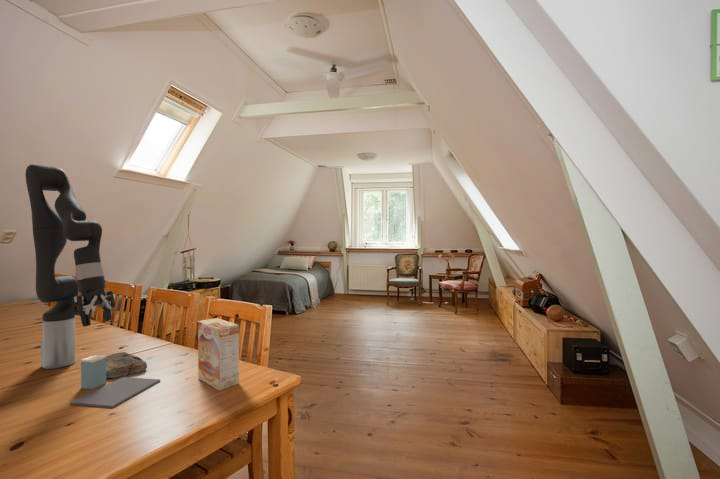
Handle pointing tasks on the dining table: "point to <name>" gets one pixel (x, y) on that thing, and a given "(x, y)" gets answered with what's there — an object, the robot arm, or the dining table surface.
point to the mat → (115, 392)
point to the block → (93, 371)
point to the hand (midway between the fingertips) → (97, 323)
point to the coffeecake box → (218, 353)
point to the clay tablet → (123, 365)
